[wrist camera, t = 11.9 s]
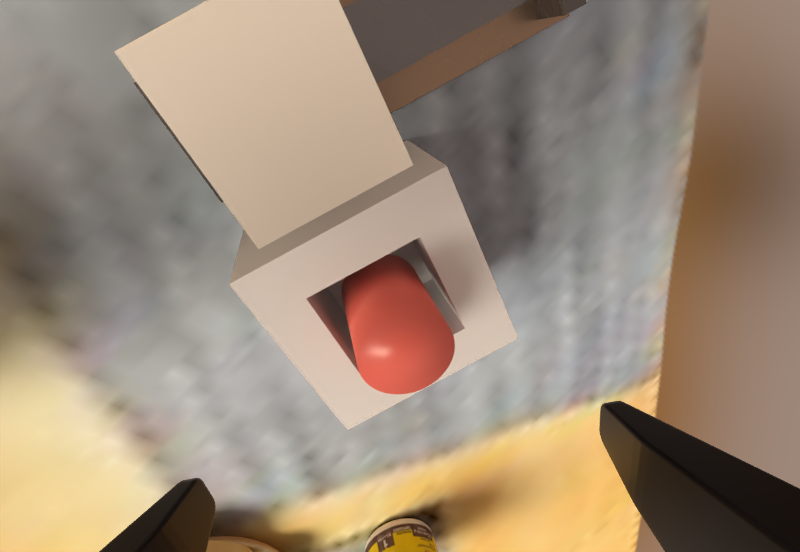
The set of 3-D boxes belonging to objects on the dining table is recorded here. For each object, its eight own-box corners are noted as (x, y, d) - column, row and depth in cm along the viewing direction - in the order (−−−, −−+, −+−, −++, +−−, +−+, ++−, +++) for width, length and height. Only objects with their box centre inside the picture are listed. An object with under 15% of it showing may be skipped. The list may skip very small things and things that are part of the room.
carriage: (267, 172, 19) (247, 269, 10) (191, 55, 16) (76, 47, 7) (368, 117, 19) (437, 165, 10) (307, -9, 16) (328, -92, 7)
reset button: (364, 335, 21) (384, 409, 16) (326, 278, 19) (338, 344, 14) (430, 300, 21) (468, 364, 16) (399, 239, 19) (432, 293, 14)
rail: (226, 201, 20) (218, 218, 18) (133, 74, 17) (111, 76, 15) (565, 16, 20) (599, 10, 18) (530, -145, 17) (566, -176, 15)
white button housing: (335, 353, 25) (347, 430, 20) (244, 228, 21) (229, 284, 16) (473, 279, 25) (521, 336, 20) (410, 137, 21) (451, 163, 16)
